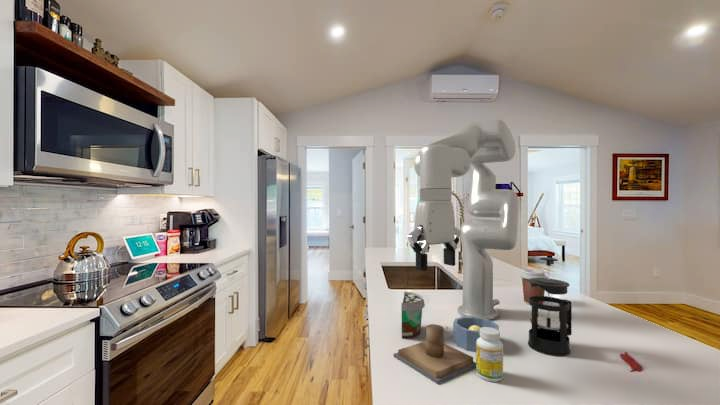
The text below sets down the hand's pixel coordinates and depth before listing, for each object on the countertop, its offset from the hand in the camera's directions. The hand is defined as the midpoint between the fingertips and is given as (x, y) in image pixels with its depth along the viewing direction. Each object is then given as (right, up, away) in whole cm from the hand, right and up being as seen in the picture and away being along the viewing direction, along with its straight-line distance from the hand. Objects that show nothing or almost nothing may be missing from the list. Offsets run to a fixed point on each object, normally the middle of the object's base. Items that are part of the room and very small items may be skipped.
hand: (435, 267), depth 76 cm
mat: (-1, -21, -3) cm, 21 cm away
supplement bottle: (+9, -21, -9) cm, 25 cm away
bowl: (+12, -21, +7) cm, 25 cm away
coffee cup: (+47, -22, +42) cm, 66 cm away
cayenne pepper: (+45, -22, -3) cm, 50 cm away
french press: (+30, -22, +4) cm, 38 cm away
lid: (-1, -21, -3) cm, 21 cm away
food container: (-3, -22, +13) cm, 26 cm away
